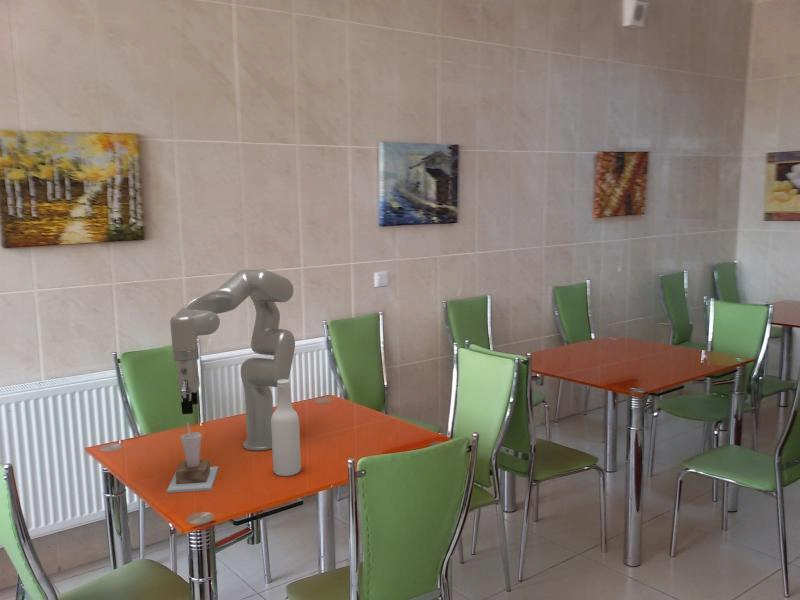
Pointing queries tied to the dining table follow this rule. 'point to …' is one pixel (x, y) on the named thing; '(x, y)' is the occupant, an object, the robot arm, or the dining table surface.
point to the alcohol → (285, 433)
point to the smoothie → (191, 447)
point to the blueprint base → (209, 482)
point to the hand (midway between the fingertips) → (190, 408)
